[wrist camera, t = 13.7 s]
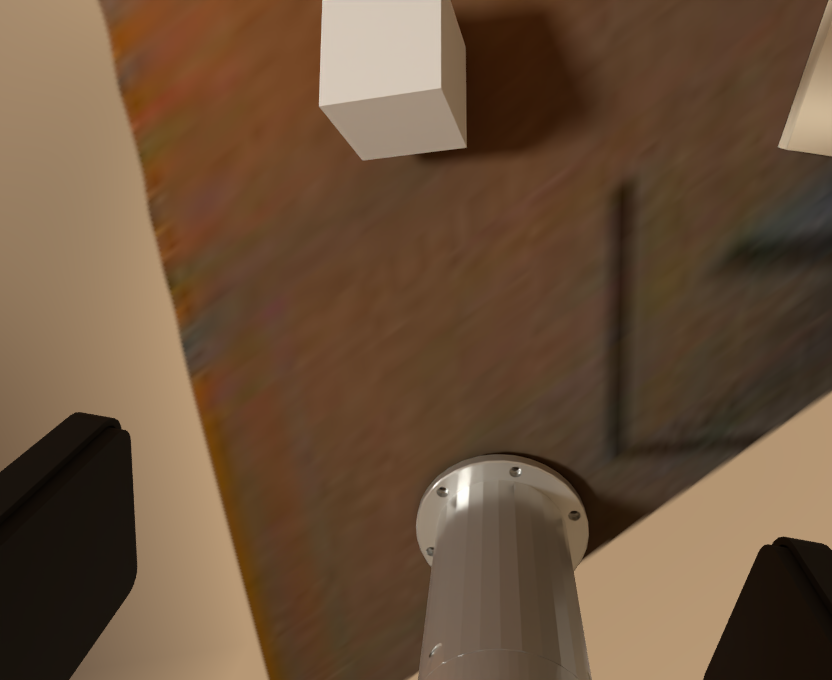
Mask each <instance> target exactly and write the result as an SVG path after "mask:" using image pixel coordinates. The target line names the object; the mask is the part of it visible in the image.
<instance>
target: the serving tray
mask: <svg viewBox="0 0 832 680" xmlns="http://www.w3.org/2000/svg"><path fill="white" fill-rule="evenodd" d="M778 147H779V148H783V149H787V150H793V151H800V152H807V153H814V154H820V155H827V156H832V0H829V1H828V4H827V6H826V9H825V12H824V15H823V18H822V21H821V24H820V27H819V30H818V32H817V35H816V38H815V41H814V44H813V47H812V50H811V53H810V56H809V59H808V61H807V64H806V67H805V70H804V73H803V76H802V79H801V82H800V85H799V88H798V90H797V93H796V96H795V99H794V102H793V105H792V108H791V111H790V114H789V117H788V119H787V122H786V125H785V128H784V131H783V134H782V137H781V140H780V143H779V145H778Z"/></svg>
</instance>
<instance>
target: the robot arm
mask: <svg viewBox="0 0 832 680" xmlns="http://www.w3.org/2000/svg"><path fill="white" fill-rule="evenodd" d="M416 532H417V540H418V543H419V546H420V550H421V552H422V554H423V555H424V557H425V559H426V561H427V562H428V564H429V565H430V566H431V567H432V570H431V578H430V586H429V594H428V602H427V611H426V619H425V627H424V635H423V643H422V652H421V660H420V668H419V676H418V680H592V679H591V673H590V667H589V661H588V656H587V649H586V643H585V637H584V631H583V625H582V619H581V613H580V607H579V602H578V596H577V590H576V583H575V578H574V570H575V569H576V568H577V566H578V565H579V564H580V562H581V560H582V558H583V556H584V554H585V551H586V549H587V544H588V538H589V529H588V520H587V516H586V511H585V508H584V505H583V503H582V501H581V499H580V496H579V495H578V493H577V492H576V491H575V489H574V488H573V486H572V485H571V484H570V483H569V482H568V481H567V480H566V479H565V478H564V477H563V476H562V475H560V474H559V473H558V472H556V471H555V470H553V469H551V468H550V467H548V466H546V465H545V464H542V463H540V462H537V461H535V460H532V459H529V458H525V457H520V456H516V455H504V454H492V455H483V456H477V457H474V458H470V459H467V460H464V461H461V462H459V463H457V464H455V465H453V466H451V467H449V468H448V469H447V470H445V471H444V472H443V473H441V474H440V475H439V476H437V477H436V479H435V480H434V481H433V482H432V483H431V484H430V485H429V486H428V488H427V490H426V492H425V493H424V495H423V497H422V499H421V502H420V506H419V509H418V514H417V521H416ZM136 574H137V554H136V534H135V515H134V494H133V475H132V457H131V440H130V435H129V433H128V432H127V431H126V430H121V425H120V423H119V421H118V420H116V419H115V418H110V417H104V416H98V415H93V414H87V413H81V412H78V413H74V414H72V415H70V416H69V417H68V418H67V419H65V420H64V421H63V422H62V423H60V424H59V425H58V426H57V427H56V428H54V429H53V430H52V431H50V432H49V433H48V434H47V435H46V436H44V437H43V438H42V439H41V440H39V441H38V442H37V443H36V444H34V445H33V446H32V447H31V448H30V449H29V450H27V451H26V452H25V453H23V454H22V455H21V456H20V457H18V458H17V459H16V460H15V461H13V462H12V463H11V464H10V465H8V466H7V467H6V468H5V469H4V470H2V471H1V472H0V680H69V679H70V678H71V676H72V675H73V673H74V672H75V671H76V669H77V668H78V666H79V665H80V663H81V662H82V661H83V659H84V658H85V656H86V655H87V653H88V652H89V650H90V649H91V648H92V646H93V645H94V643H95V642H96V640H97V639H98V637H99V636H100V635H101V633H102V632H103V630H104V629H105V627H106V626H107V625H108V623H109V622H110V620H111V619H112V617H113V616H114V615H115V613H116V612H117V610H118V609H119V608H120V606H121V605H122V603H123V602H124V600H125V599H126V597H127V596H128V594H129V593H130V591H131V589H132V587H133V585H134V581H135V579H136ZM703 680H832V550H831V549H830V548H829V547H828V546H827V545H824V544H822V543H816V542H811V541H805V540H799V539H794V538H788V537H779V538H778V539H776V540H775V541H774V542H773V544H772V545H764V546H763V547H762V548H761V549H760V551H759V552H758V555H757V557H756V559H755V562H754V564H753V566H752V568H751V571H750V573H749V575H748V577H747V580H746V582H745V584H744V586H743V589H742V591H741V593H740V596H739V598H738V600H737V602H736V605H735V607H734V609H733V611H732V614H731V616H730V618H729V620H728V623H727V625H726V627H725V630H724V632H723V634H722V636H721V639H720V641H719V643H718V645H717V648H716V650H715V652H714V655H713V657H712V659H711V661H710V664H709V666H708V668H707V670H706V673H705V676H704V679H703Z"/></svg>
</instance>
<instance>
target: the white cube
mask: <svg viewBox="0 0 832 680" xmlns="http://www.w3.org/2000/svg"><path fill="white" fill-rule="evenodd" d="M319 107H320V108H321V109H322V111H323V112H324V113H325V114H326V116H327V117H328V118H329V119H330V121H331V122H332V123H333V124H334V126H335V127H336V128H337V129H338V130H339V132H340V133H341V134H342V135H343V137H344V138H345V139H346V140H347V142H348V143H349V144H350V145H351V147H352V148H353V149H354V150H355V152H356V153H357V154H358V155H359V157H360V158H361V159H362V160H370V159H378V158H387V157H395V156H403V155H411V154H419V153H427V152H435V151H443V150H452V149H460V148H467V128H466V47H465V43H464V40H463V37H462V34H461V31H460V28H459V25H458V22H457V19H456V16H455V13H454V10H453V7H452V3H451V0H323V2H322V32H321V61H320V91H319Z"/></svg>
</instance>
